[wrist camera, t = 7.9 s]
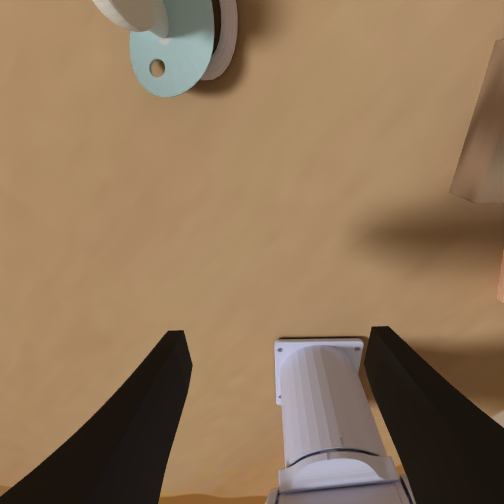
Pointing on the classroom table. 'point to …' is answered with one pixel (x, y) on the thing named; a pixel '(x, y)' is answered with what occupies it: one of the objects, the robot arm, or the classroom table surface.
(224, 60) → the pacifier
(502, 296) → the terracotta cube
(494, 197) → the walnut slab
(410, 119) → the classroom table surface
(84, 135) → the classroom table surface
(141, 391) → the robot arm
